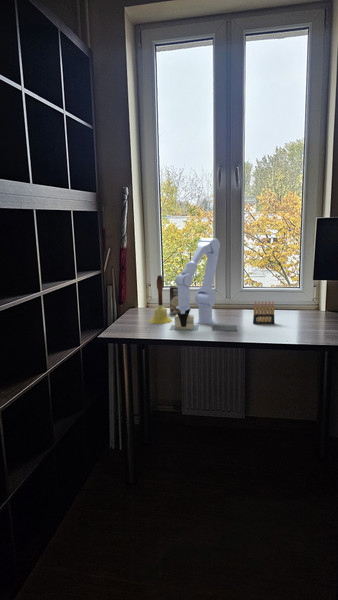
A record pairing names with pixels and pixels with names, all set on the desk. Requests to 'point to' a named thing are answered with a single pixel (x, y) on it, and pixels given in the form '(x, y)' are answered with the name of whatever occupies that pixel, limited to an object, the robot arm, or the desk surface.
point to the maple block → (188, 325)
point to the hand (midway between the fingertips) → (184, 324)
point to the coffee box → (174, 300)
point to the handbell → (160, 306)
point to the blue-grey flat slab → (185, 329)
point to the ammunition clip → (263, 313)
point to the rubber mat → (224, 328)
